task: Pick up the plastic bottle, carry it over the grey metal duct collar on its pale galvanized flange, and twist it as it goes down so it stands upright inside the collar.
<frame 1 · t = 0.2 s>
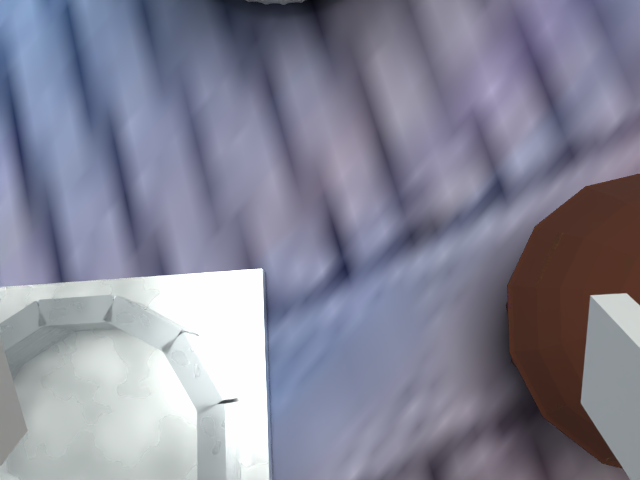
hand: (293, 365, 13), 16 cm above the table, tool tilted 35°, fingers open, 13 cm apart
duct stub: (108, 444, 29), on the table
muffin: (595, 331, 29), on the table
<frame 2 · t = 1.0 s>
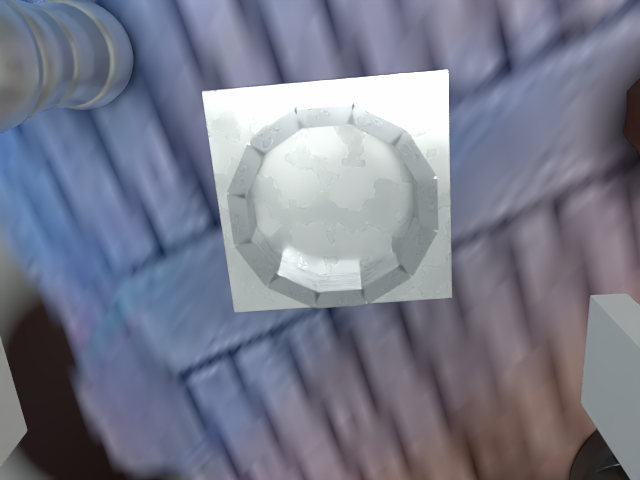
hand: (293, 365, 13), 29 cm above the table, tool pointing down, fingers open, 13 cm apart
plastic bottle: (95, 52, 40), on the table
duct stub: (333, 196, 42), on the table
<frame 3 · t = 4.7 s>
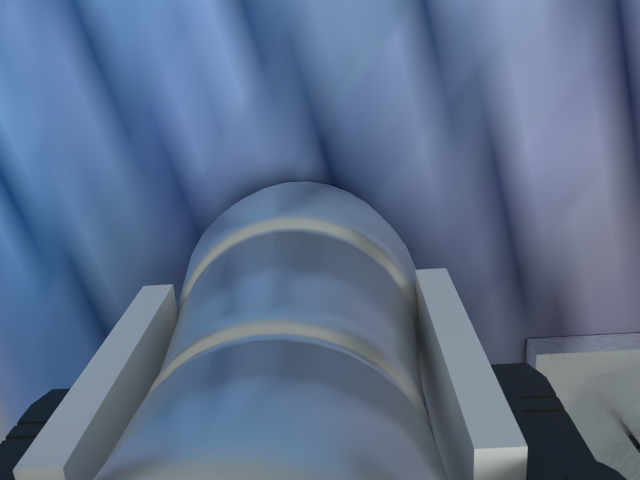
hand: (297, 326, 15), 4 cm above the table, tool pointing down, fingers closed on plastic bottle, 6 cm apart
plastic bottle: (306, 264, 19), on the table, touching gripper
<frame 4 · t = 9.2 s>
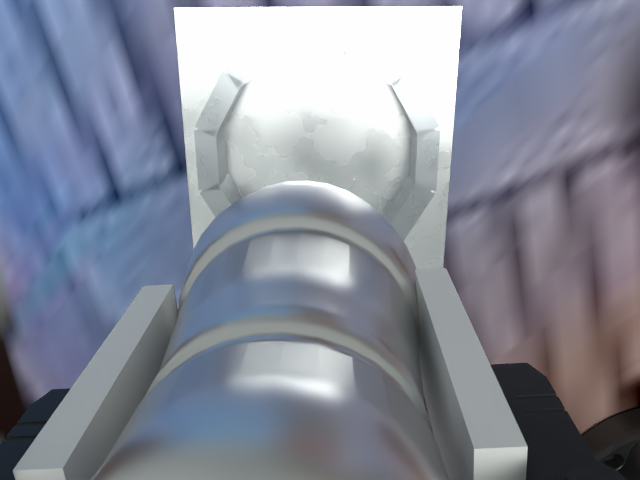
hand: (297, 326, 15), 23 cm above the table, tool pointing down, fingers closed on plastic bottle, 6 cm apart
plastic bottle: (306, 263, 19), point 19 cm above the table, touching gripper
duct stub: (318, 146, 37), on the table
when the fingers open (6 cm above the table, at t = 13.9 s): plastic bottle drops 1 cm, resting on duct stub.
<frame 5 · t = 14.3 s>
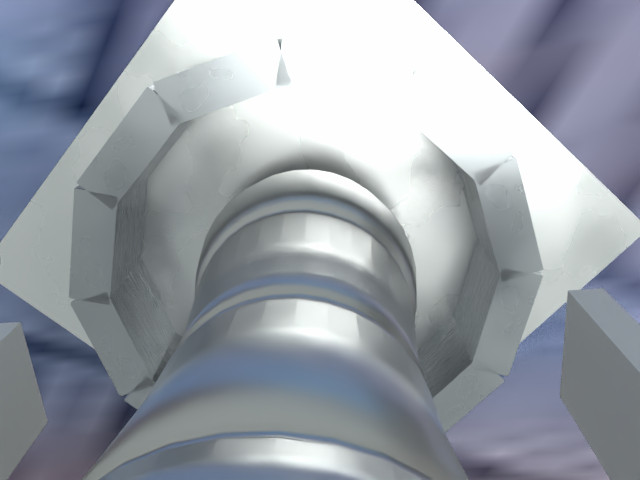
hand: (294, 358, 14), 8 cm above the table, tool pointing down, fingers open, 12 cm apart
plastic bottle: (310, 248, 20), point 1 cm above the table, touching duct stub
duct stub: (307, 239, 21), on the table
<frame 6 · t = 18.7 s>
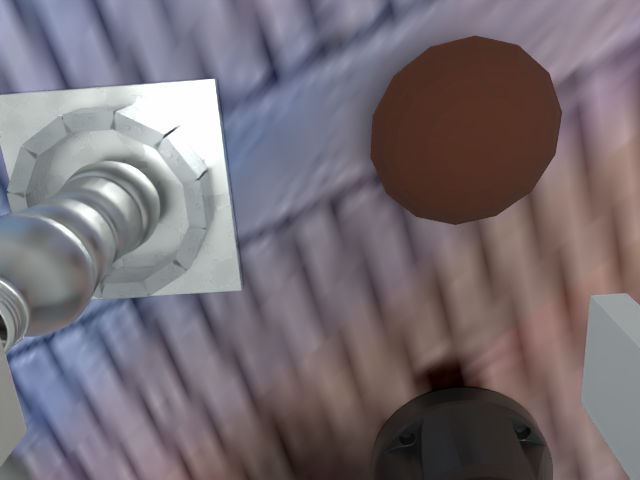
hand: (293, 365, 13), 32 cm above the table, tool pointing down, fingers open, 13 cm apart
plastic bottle: (123, 196, 44), point 1 cm above the table, touching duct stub
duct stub: (126, 194, 45), on the table
muffin: (445, 118, 43), on the table
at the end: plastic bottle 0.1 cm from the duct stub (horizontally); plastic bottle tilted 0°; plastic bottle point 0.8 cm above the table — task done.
